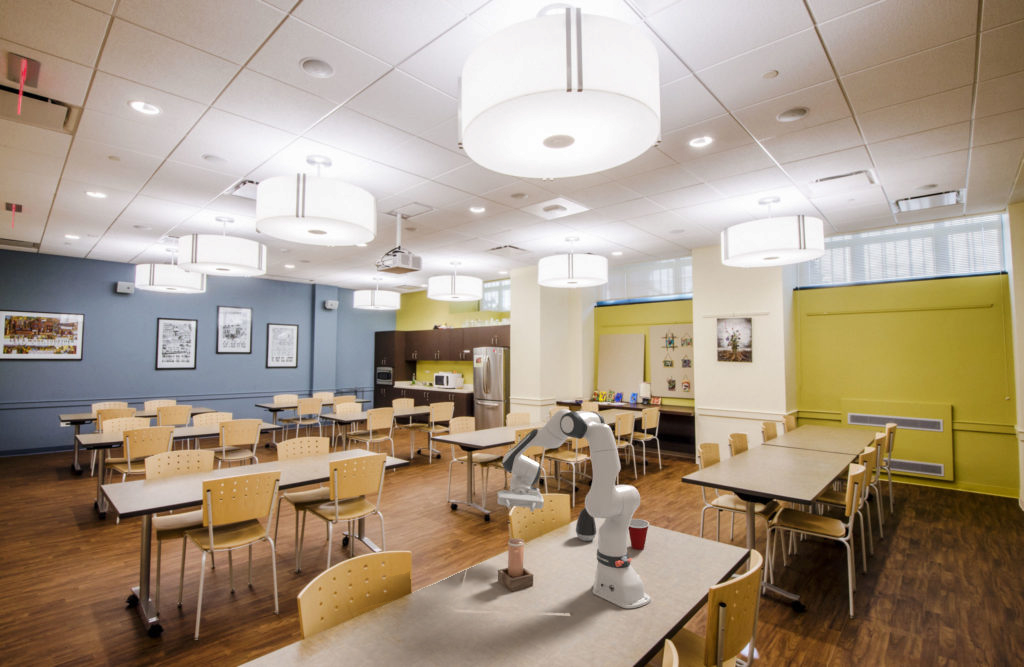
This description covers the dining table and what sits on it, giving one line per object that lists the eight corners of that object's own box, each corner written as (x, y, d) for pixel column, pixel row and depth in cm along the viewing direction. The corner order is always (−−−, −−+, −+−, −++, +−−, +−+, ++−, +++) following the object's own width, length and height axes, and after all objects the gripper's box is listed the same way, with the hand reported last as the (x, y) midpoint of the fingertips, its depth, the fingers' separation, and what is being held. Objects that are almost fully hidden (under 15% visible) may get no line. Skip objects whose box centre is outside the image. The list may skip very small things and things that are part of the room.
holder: (533, 587, 183) (533, 574, 183) (510, 593, 178) (511, 580, 178) (519, 577, 192) (519, 564, 192) (497, 583, 186) (498, 569, 187)
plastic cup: (621, 545, 229) (621, 519, 230) (638, 542, 234) (639, 517, 234) (635, 553, 219) (636, 527, 220) (654, 550, 224) (654, 524, 224)
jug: (507, 579, 188) (508, 538, 189) (523, 579, 188) (524, 538, 189) (507, 589, 179) (508, 546, 180) (523, 590, 179) (524, 547, 180)
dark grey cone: (595, 536, 240) (595, 505, 241) (597, 543, 230) (597, 511, 231) (575, 534, 241) (575, 504, 242) (575, 542, 231) (576, 510, 232)
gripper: (497, 484, 214) (497, 499, 200) (542, 489, 214) (545, 504, 201) (496, 497, 214) (495, 513, 201) (541, 502, 215) (543, 518, 201)
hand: (520, 508), depth 201 cm, fingers open, 8 cm apart
